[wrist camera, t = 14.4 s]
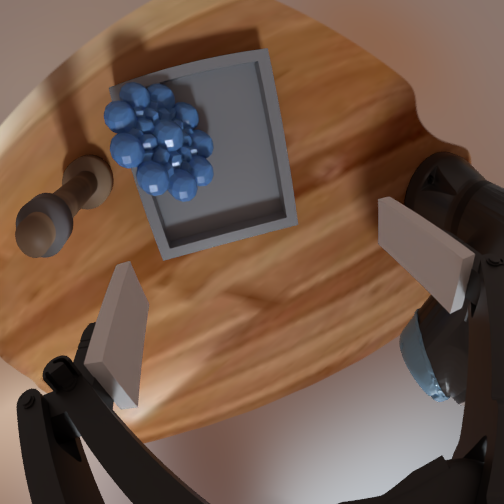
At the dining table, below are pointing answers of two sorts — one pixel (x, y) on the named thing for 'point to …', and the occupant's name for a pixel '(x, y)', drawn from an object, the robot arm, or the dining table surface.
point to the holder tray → (226, 155)
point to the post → (62, 207)
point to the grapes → (159, 141)
